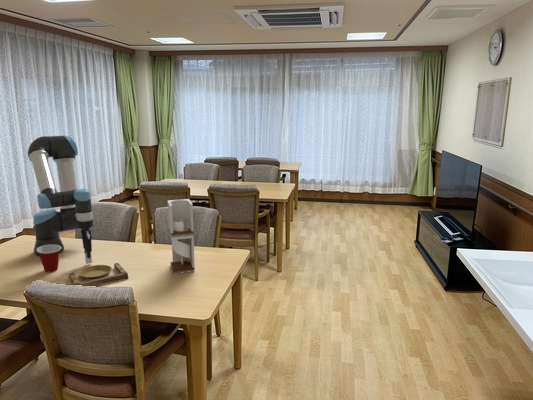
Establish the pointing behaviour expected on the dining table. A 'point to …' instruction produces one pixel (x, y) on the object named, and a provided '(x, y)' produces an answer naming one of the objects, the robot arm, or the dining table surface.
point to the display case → (181, 235)
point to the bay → (101, 281)
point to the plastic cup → (49, 257)
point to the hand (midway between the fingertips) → (88, 262)
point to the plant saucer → (95, 272)
